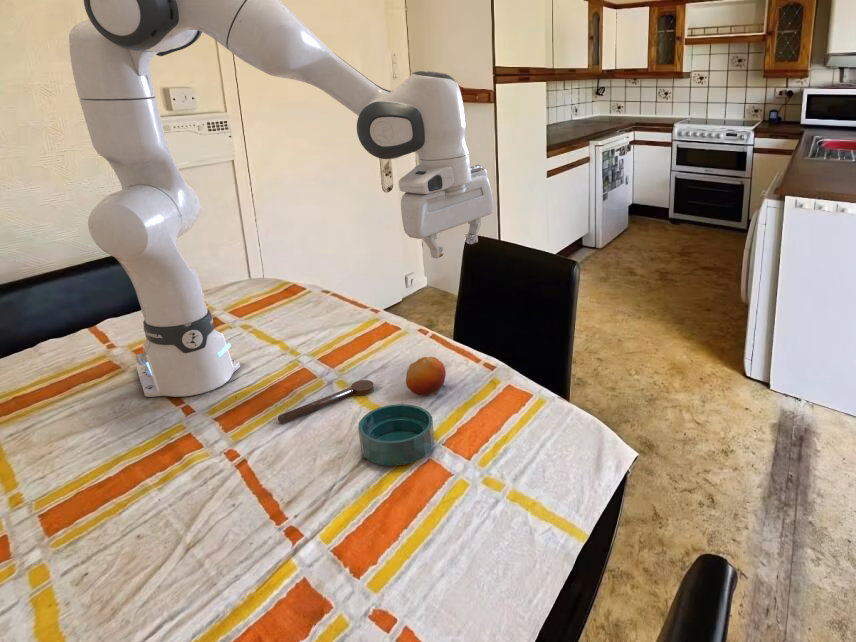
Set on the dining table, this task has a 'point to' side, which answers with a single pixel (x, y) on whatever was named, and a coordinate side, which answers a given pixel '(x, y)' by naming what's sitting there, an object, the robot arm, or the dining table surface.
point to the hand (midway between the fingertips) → (455, 249)
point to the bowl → (396, 434)
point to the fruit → (426, 376)
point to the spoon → (329, 400)
